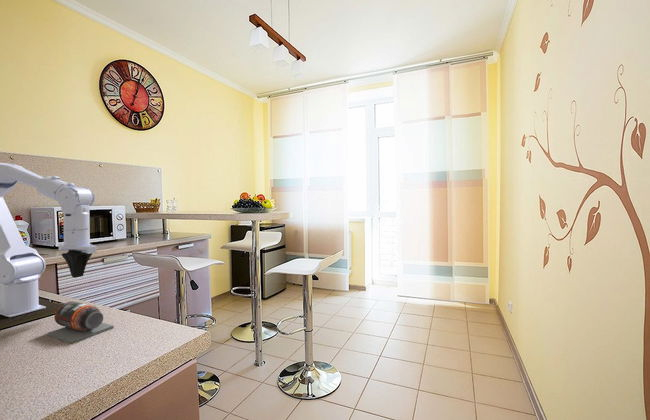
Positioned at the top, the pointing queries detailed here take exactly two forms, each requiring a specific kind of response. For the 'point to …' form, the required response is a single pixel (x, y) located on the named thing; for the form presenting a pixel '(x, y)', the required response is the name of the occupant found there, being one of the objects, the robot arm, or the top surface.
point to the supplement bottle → (78, 316)
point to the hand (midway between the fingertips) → (77, 276)
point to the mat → (78, 333)
